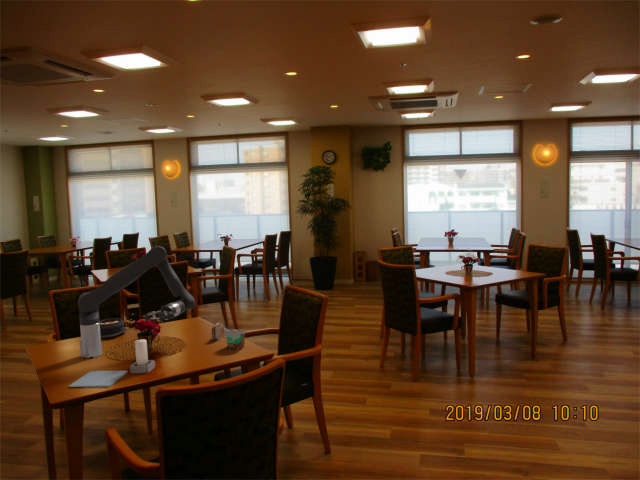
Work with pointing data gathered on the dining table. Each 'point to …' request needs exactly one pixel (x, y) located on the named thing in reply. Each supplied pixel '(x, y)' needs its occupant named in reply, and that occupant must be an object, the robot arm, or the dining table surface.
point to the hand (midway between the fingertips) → (152, 319)
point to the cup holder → (142, 367)
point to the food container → (235, 338)
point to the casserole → (111, 327)
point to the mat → (98, 379)
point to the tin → (218, 330)
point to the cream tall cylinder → (141, 352)
